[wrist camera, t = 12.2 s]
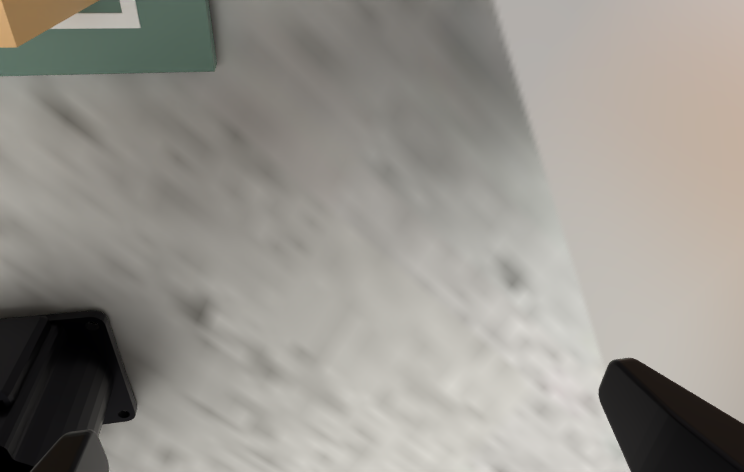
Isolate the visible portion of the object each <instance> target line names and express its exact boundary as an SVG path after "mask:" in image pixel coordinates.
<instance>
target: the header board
mask: <svg viewBox="0 0 744 472" xmlns="http://www.w3.org/2000/svg"><path fill="white" fill-rule="evenodd" d="M216 64H217V62H216V54H215V47H214V39H213V32H212V25H211V17H210V10H209V2H208V0H99V1H97V2H95V3H94V4H92V5H90V6H88V7H87V8H85V9H83V10H81V11H80V12H78V13H76V14H74V15H73V16H71V17H69V18H67V19H66V20H64V21H62V22H61V23H59V24H57V25H55V26H54V27H52V28H50V29H48V30H47V31H45V32H43V33H41V34H40V35H38V36H36V37H34V38H33V39H31V40H29V41H27V42H26V43H24V44H22V45H20V46H19V47H14V48H0V76H28V75H74V74H120V73H165V72H211V71H215V68H216Z"/></svg>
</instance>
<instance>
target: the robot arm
mask: <svg viewBox="0 0 744 472" xmlns="http://www.w3.org/2000/svg"><path fill="white" fill-rule="evenodd" d="M90 321H92V322H96V323H98V324H92V323H90ZM599 399H600V402H601V405H602V407H603V409H604V412H605V414H606V416H607V419H608V421H609V423H610V425H611V428H612V430H613V432H614V434H615V437H616V439H617V441H618V443H619V446H620V448H621V450H622V453H623V455H624V457H625V459H626V462H627V464H628V466H629V468H630V470H631V472H744V424H743V423H741V422H739V421H738V420H736V419H734V418H733V417H731V416H730V415H728V414H726V413H724V412H723V411H721V410H720V409H718V408H716V407H715V406H713V405H711V404H710V403H708V402H706V401H705V400H703V399H701V398H700V397H698V396H696V395H695V394H693V393H691V392H690V391H688V390H686V389H685V388H683V387H681V386H680V385H678V384H676V383H675V382H673V381H671V380H670V379H668V378H666V377H665V376H663V375H661V374H660V373H658V372H656V371H655V370H653V369H651V368H650V367H648V366H646V365H645V364H643V363H641V362H640V361H638V360H636V359H633V358H624V359H616V360H613V361H611V362H610V363H609V365H608V367H607V369H606V372H605V374H604V377H603V379H602V382H601V384H600V387H599ZM136 411H137V404H136V401H135V398H134V395H133V392H132V389H131V386H130V383H129V380H128V377H127V374H126V371H125V368H124V366H123V363H122V360H121V357H120V354H119V351H118V348H117V345H116V342H115V339H114V336H113V333H112V330H111V327H110V324H109V321H108V318H107V316H106V315H105V314H104V313H102V312H99V311H93V310H91V311H81V312H70V313H60V314H50V315H39V316H29V317H19V318H8V319H0V472H109V464H108V460H107V457H106V454H105V452H104V450H103V447H102V445H101V442H100V440H99V433H100V430H101V427H102V424H110V423H118V422H125V421H130V420H132V419H133V418H134V417H135V415H136Z"/></svg>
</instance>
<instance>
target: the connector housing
mask: <svg viewBox="0 0 744 472" xmlns="http://www.w3.org/2000/svg"><path fill="white" fill-rule="evenodd" d="M97 1H99V0H0V48H14V47H19V46H20V45H22V44H24V43H26V42H27V41H29V40H31V39H33V38H34V37H36V36H38V35H40V34H41V33H43V32H45V31H47V30H48V29H50V28H52V27H54V26H55V25H57V24H59V23H61V22H62V21H64V20H66V19H67V18H69V17H71V16H73V15H74V14H76V13H78V12H80V11H81V10H83V9H85V8H87V7H88V6H90V5H92V4H94V3H95V2H97Z"/></svg>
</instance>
